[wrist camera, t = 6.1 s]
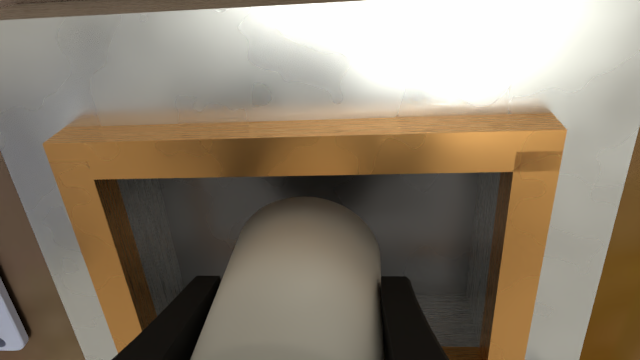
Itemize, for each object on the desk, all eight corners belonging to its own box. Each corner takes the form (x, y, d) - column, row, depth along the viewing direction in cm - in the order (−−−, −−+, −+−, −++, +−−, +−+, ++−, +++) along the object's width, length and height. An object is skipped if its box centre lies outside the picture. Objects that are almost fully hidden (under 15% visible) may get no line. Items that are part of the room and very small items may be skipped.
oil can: (254, 317, 15) (190, 546, 10) (220, 204, 13) (119, 407, 8) (387, 308, 15) (399, 547, 9) (371, 189, 13) (374, 396, 7)
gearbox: (134, 359, 21) (94, 438, 18) (13, 4, 14) (-86, 32, 11) (538, 367, 19) (571, 456, 16) (621, -31, 12) (705, -9, 9)
